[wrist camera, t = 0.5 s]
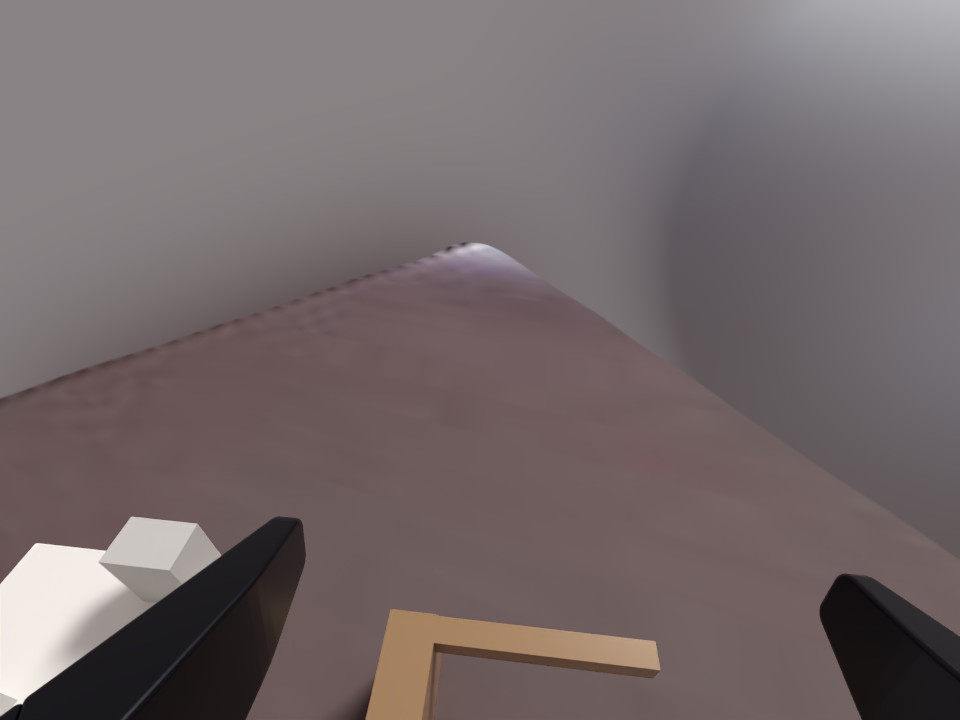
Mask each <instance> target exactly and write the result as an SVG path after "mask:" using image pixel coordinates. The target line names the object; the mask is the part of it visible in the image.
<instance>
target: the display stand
mask: <svg viewBox="0 0 960 720" xmlns="http://www.w3.org/2000/svg"><path fill="white" fill-rule="evenodd" d="M220 556H221V554H220V553H219V552H218V550H217V549H216V548H215V546H214V545H213V544H212V542H211V541H210V540H209V538H208V537H207V536H206V534H205V533H204V532H203V530H202V529H201V528H200V527H199V525H198V524H194V523H185V522H176V521H166V520H157V519H148V518H139V517H131V518H130V519H129V521H128V522H127V523H126V525H125V526H124V527H123V529H122V530H121V532H120V533H119V534H118V536H117V537H116V538H115V540H114V541H113V542H112V544H111V545H110V547H109V548H108V549H107V551H102V550H93V549H84V548H75V547H67V546H58V545H49V544H40V543H35V545H34V546H33V547H32V548H31V549H30V550H29V552H28V553H27V554H26V555H25V556H24V557H23V559H22V560H21V561H20V562H19V563H18V564H17V566H16V567H15V568H14V569H13V570H12V571H11V573H10V574H9V575H8V576H7V577H6V578H5V579H4V581H3V582H2V583H1V584H0V716H1V715H3V714H4V713H5V712H7V711H8V710H9V709H11V708H12V707H14V706H15V705H17V704H22V705H23V702H24V700H25V699H26V698H27V697H28V696H29V695H30V694H32V693H33V692H35V691H36V690H37V689H39V688H40V687H41V686H43V685H44V684H46V683H47V682H48V681H50V680H51V679H52V678H54V677H55V676H57V675H58V674H59V673H61V672H62V671H63V670H65V669H66V668H68V667H69V666H70V665H72V664H73V663H74V662H76V661H77V660H79V659H80V658H81V657H83V656H84V655H86V654H87V653H88V652H90V651H91V650H92V649H94V648H95V647H97V646H98V645H99V644H101V643H102V642H103V641H105V640H106V639H108V638H109V637H110V636H112V635H113V634H114V633H116V632H117V631H119V630H120V629H121V628H123V627H124V626H125V625H127V624H128V623H130V622H131V621H132V620H134V619H135V618H136V617H138V616H139V615H141V614H142V613H143V612H145V611H146V610H147V609H149V608H150V607H152V606H153V605H154V604H156V603H157V602H158V601H160V600H161V599H163V598H164V597H165V596H167V595H168V594H169V593H171V592H172V591H174V590H175V589H176V588H178V587H179V586H180V585H182V584H183V583H185V582H186V581H187V580H189V579H190V578H191V577H193V576H194V575H196V574H197V573H198V572H200V571H201V570H202V569H204V568H205V567H207V566H208V565H209V564H211V563H212V562H213V561H215V560H216V559H218V558H219V557H220Z"/></svg>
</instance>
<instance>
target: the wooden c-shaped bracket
mask: <svg viewBox="0 0 960 720" xmlns="http://www.w3.org/2000/svg"><path fill="white" fill-rule="evenodd" d="M442 653H447V654H455V655H464V656H472V657H480V658H488V659H496V660H505V661H513V662H521V663H529V664H538V665H546V666H554V667H562V668H570V669H579V670H587V671H595V672H603V673H612V674H620V675H628V676H636V677H644V678H653V677H654V676H655V675H656V674H657V673H658V672H659V671H660V665H659V659H658V653H657V647H656V641H648V640H639V639H630V638H622V637H613V636H605V635H596V634H588V633H579V632H571V631H562V630H553V629H545V628H536V627H528V626H519V625H511V624H502V623H494V622H485V621H476V620H468V619H459V618H451V617H442V616H438V614H429V613H421V612H412V611H403V610H395V609H391V611H390V615H389V619H388V624H387V628H386V632H385V637H384V641H383V645H382V650H381V654H380V658H379V663H378V667H377V672H376V676H375V680H374V685H373V689H372V693H371V698H370V702H369V706H368V711H367V715H366V719H365V720H433V719H434V712H435V705H436V698H437V691H438V684H439V677H440V669H441V662H442Z"/></svg>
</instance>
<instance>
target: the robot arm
mask: <svg viewBox="0 0 960 720" xmlns="http://www.w3.org/2000/svg"><path fill="white" fill-rule="evenodd" d="M305 557H306V552H305V542H304V533H303V524H302V522H301V520H300V519H298V518H290V517H280V516H279V517H275V518H273V519H271V520H270V521H268V522H267V523H266V524H264V525H263V526H262V527H260V528H259V529H257V530H256V531H255V532H253V533H252V534H251V535H249V536H248V537H246V538H245V539H244V540H242V541H241V542H240V543H238V544H237V545H235V546H234V547H233V548H231V549H230V550H229V551H227V552H226V553H224V554H223V555H222V556H220V557H219V558H218V559H216V560H215V561H213V562H212V563H211V564H209V565H208V566H207V567H205V568H204V569H202V570H201V571H200V572H198V573H197V574H196V575H194V576H193V577H191V578H190V579H189V580H187V581H186V582H185V583H183V584H182V585H180V586H179V587H178V588H176V589H175V590H174V591H172V592H171V593H169V594H168V595H167V596H165V597H164V598H163V599H161V600H160V601H158V602H157V603H156V604H154V605H153V606H152V607H150V608H149V609H147V610H146V611H145V612H143V613H142V614H141V615H139V616H138V617H136V618H135V619H134V620H132V621H131V622H130V623H128V624H127V625H125V626H124V627H123V628H121V629H120V630H119V631H117V632H116V633H114V634H113V635H112V636H110V637H109V638H108V639H106V640H105V641H103V642H102V643H101V644H99V645H98V646H97V647H95V648H94V649H92V650H91V651H90V652H88V653H87V654H86V655H84V656H83V657H81V658H80V659H79V660H77V661H76V662H74V663H73V664H72V665H70V666H69V667H68V668H66V669H65V670H63V671H62V672H61V673H59V674H58V675H57V676H55V677H54V678H52V679H51V680H50V681H48V682H47V683H46V684H44V685H43V686H41V687H40V688H39V689H37V690H36V691H35V692H33V693H32V694H30V695H29V696H28V697H27V698H26V699H25V700H24V702H23V705H22V704H17V705H15V706H14V707H12V708H11V709H9V710H8V711H7V712H5V713H4V714H3V715H1V716H0V720H246V718H247V715H248V713H249V711H250V709H251V707H252V704H253V702H254V700H255V698H256V696H257V693H258V691H259V689H260V687H261V685H262V682H263V680H264V678H265V675H266V673H267V671H268V668H269V666H270V664H271V661H272V658H273V655H274V653H275V650H276V647H277V644H278V641H279V638H280V635H281V633H282V630H283V627H284V624H285V621H286V618H287V615H288V612H289V609H290V606H291V603H292V600H293V597H294V594H295V591H296V589H297V586H298V583H299V580H300V577H301V574H302V571H303V568H304V564H305ZM820 619H821V622H822V625H823V627H824V630H825V632H826V634H827V637H828V639H829V642H830V644H831V647H832V649H833V651H834V654H835V656H836V659H837V661H838V664H839V666H840V668H841V671H842V673H843V676H844V678H845V681H846V683H847V685H848V688H849V690H850V693H851V695H852V698H853V700H854V702H855V705H856V707H857V710H858V712H859V714H860V716H861V719H862V720H960V636H958V635H957V634H955V633H954V632H952V631H951V630H949V629H948V628H946V627H945V626H943V625H942V624H940V623H939V622H937V621H936V620H934V619H933V618H932V617H930V616H929V615H927V614H926V613H924V612H923V611H921V610H920V609H918V608H917V607H915V606H914V605H912V604H911V603H909V602H908V601H906V600H905V599H903V598H902V597H900V596H899V595H897V594H896V593H894V592H893V591H891V590H890V589H888V588H887V587H886V586H884V585H883V584H881V583H880V582H878V581H877V580H875V579H873V578H871V577H869V576H865V575H856V574H846V573H845V574H841V575H839V576H838V577H837V578H836V579H835V581H834V583H833V584H832V586H831V588H830V589H829V591H828V593H827V595H826V596H825V598H824V600H823V601H822V603H821V605H820Z"/></svg>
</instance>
